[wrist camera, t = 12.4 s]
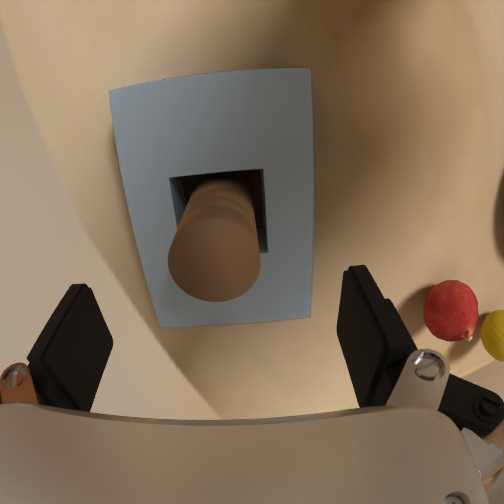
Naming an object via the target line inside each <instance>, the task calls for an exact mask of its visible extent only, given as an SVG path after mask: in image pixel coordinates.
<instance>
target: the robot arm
mask: <svg viewBox="0 0 504 504" xmlns="http://www.w3.org/2000/svg"><path fill="white" fill-rule="evenodd" d="M337 336H338V339H339V342H340V345H341V348H342V351H343V355H344V358H345V361H346V364H347V368H348V371H349V374H350V377H351V381H352V384H353V387H354V391H355V394H356V398H357V401H358V404H359V407H360V408H355V409H347V410H340V411H333V412H325V413H316V414H307V415H297V416H286V417H275V418H260V419H239V420H172V419H152V418H138V417H125V416H116V415H107V414H99V413H91V412H90V410H91V407H92V404H93V401H94V398H95V395H96V392H97V389H98V386H99V383H100V380H101V378H102V374H103V372H104V369H105V366H106V364H107V361H108V358H109V355H110V353H111V350H112V347H113V338H112V336H111V334H110V331H109V329H108V327H107V325H106V322H105V320H104V318H103V316H102V313H101V311H100V308H99V306H98V304H97V301H96V299H95V296H94V294H93V291H92V289H91V288H89V287H88V286H87V285H86V284H72V285H71V286H70V287H69V289H68V291H67V292H66V294H65V295H64V297H63V298H62V300H61V301H60V303H59V304H58V306H57V308H56V309H55V311H54V312H53V314H52V315H51V317H50V319H49V320H48V322H47V324H46V325H45V327H44V329H43V330H42V332H41V334H40V335H39V337H38V339H37V341H36V342H35V344H34V346H33V348H32V350H31V351H30V353H29V355H28V357H27V359H28V361H29V362H30V363H29V365H28V366H27V365H26V364H24V363H15V364H12V365H11V366H9V367H7V369H5V370H4V372H3V373H2V375H1V377H0V504H504V402H503V400H502V399H501V398H500V397H499V395H497V394H496V393H494V392H492V391H490V390H487V389H485V388H483V387H480V386H478V385H475V384H473V383H471V382H468V381H466V380H463V379H461V378H459V377H457V376H455V375H452V374H450V366H449V363H448V361H447V360H446V358H445V357H444V356H443V355H442V354H441V353H439V352H437V351H435V350H431V349H420V350H418V349H417V347H416V345H415V343H414V341H413V339H412V338H411V336H410V334H409V332H408V330H407V328H406V326H405V325H404V323H403V321H402V319H401V317H400V315H399V314H398V312H397V310H396V308H395V307H394V305H393V303H392V302H391V300H390V299H388V298H387V299H385V298H384V297H383V295H382V293H381V291H380V289H379V288H378V286H377V284H376V282H375V281H374V279H373V277H372V275H371V274H370V272H369V270H368V269H367V267H366V266H365V265H358V266H350V267H349V268H348V270H347V271H344V273H343V281H342V290H341V298H340V306H339V313H338V321H337ZM478 470H479V471H480V473H481V476H482V478H481V476H480V473H479V471H478Z"/></svg>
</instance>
